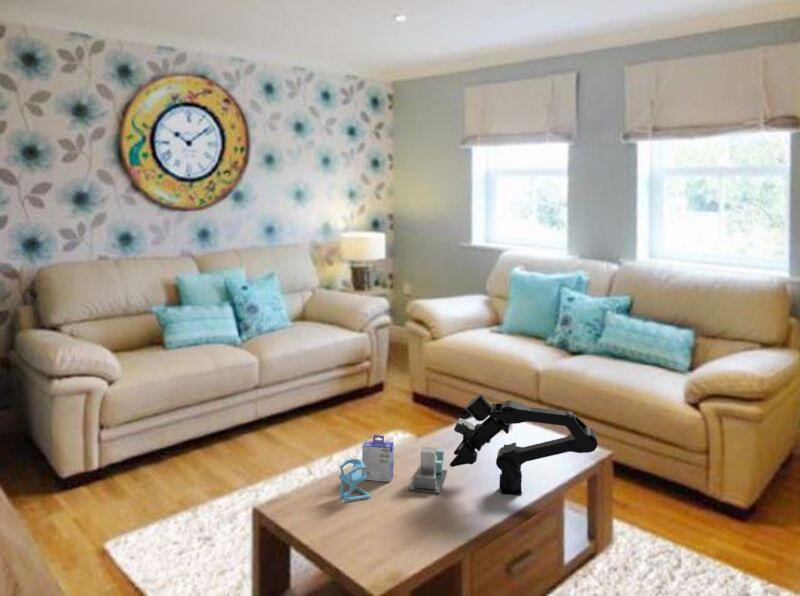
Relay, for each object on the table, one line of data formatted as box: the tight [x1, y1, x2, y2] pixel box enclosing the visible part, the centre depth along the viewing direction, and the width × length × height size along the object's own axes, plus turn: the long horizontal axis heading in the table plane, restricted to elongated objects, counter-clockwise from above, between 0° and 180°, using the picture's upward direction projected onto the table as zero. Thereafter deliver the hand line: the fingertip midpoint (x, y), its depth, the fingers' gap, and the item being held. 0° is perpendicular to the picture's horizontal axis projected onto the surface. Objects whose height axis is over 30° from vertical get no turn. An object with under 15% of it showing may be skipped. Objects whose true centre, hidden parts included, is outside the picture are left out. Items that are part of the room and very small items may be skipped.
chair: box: [338, 458, 371, 503], centre depth 206 cm, size 8×8×12 cm
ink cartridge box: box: [361, 434, 395, 483], centre depth 218 cm, size 10×6×14 cm, turn 79°
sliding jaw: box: [436, 448, 445, 473], centre depth 226 cm, size 11×7×4 cm, turn 167°
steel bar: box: [420, 446, 437, 476], centre depth 216 cm, size 4×4×10 cm
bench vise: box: [408, 467, 448, 495], centre depth 216 cm, size 16×10×5 cm, turn 167°
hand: (452, 459), depth 213 cm, fingers open, 9 cm apart
